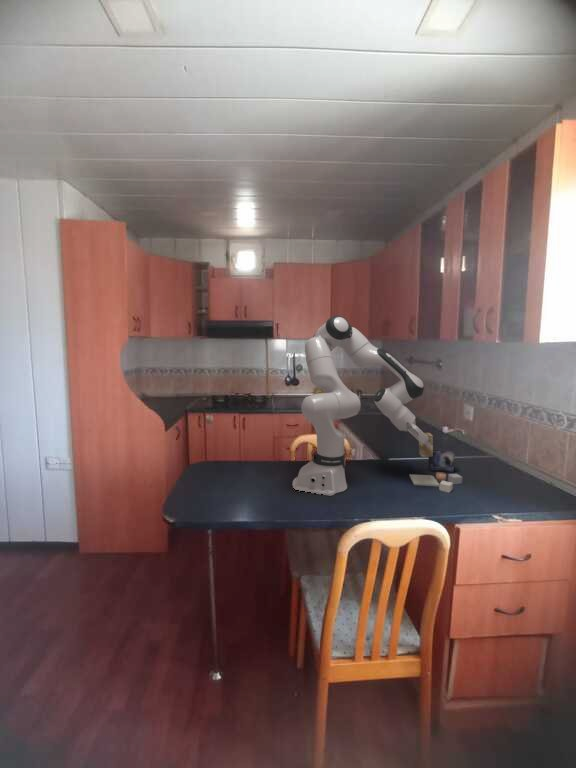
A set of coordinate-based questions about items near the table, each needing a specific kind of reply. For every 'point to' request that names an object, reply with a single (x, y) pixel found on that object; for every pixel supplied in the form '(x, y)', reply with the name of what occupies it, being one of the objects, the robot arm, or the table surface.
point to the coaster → (424, 480)
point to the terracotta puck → (440, 476)
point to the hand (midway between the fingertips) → (426, 443)
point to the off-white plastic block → (446, 486)
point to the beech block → (425, 450)
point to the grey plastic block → (455, 478)
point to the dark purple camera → (442, 459)
